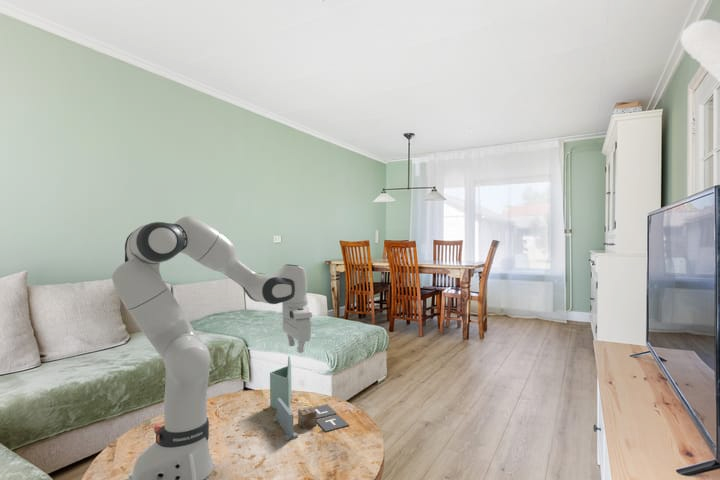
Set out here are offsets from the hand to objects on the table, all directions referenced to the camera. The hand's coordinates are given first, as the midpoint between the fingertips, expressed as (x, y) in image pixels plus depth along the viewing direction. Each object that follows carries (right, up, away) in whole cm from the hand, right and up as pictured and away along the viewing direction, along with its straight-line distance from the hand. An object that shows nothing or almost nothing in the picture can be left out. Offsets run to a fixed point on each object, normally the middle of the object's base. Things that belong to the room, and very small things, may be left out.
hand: (295, 349), depth 132 cm
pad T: (+13, -27, +2) cm, 30 cm away
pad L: (+8, -28, +11) cm, 31 cm away
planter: (-9, -28, +17) cm, 34 cm away
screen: (-4, -28, -1) cm, 28 cm away
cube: (+4, -28, +2) cm, 28 cm away
